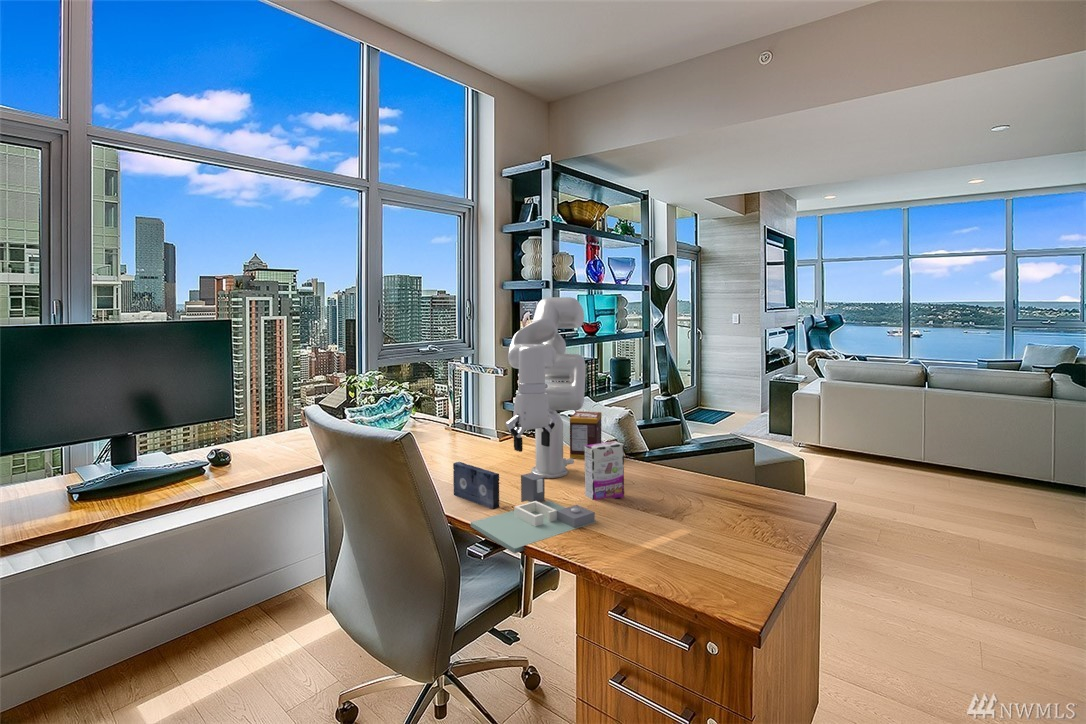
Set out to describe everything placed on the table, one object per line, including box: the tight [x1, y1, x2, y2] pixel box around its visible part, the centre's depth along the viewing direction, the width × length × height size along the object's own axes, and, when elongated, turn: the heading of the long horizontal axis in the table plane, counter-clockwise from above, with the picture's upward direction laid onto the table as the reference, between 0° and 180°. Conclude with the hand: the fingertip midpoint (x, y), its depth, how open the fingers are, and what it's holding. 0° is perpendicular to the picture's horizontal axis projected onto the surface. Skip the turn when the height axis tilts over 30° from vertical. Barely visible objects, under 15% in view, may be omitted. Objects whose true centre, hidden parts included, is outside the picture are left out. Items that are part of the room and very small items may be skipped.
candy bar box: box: [584, 440, 625, 501], centre depth 160 cm, size 11×5×16 cm, turn 118°
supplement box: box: [569, 410, 602, 460], centre depth 210 cm, size 10×15×16 cm
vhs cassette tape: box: [452, 461, 500, 510], centre depth 159 cm, size 18×3×10 cm, turn 45°
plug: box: [520, 472, 546, 503], centre depth 156 cm, size 4×7×8 cm, turn 38°
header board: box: [470, 500, 598, 554], centre depth 140 cm, size 26×20×4 cm
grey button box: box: [557, 504, 596, 528], centre depth 140 cm, size 7×7×3 cm
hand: (532, 448), depth 155 cm, fingers open, 9 cm apart
